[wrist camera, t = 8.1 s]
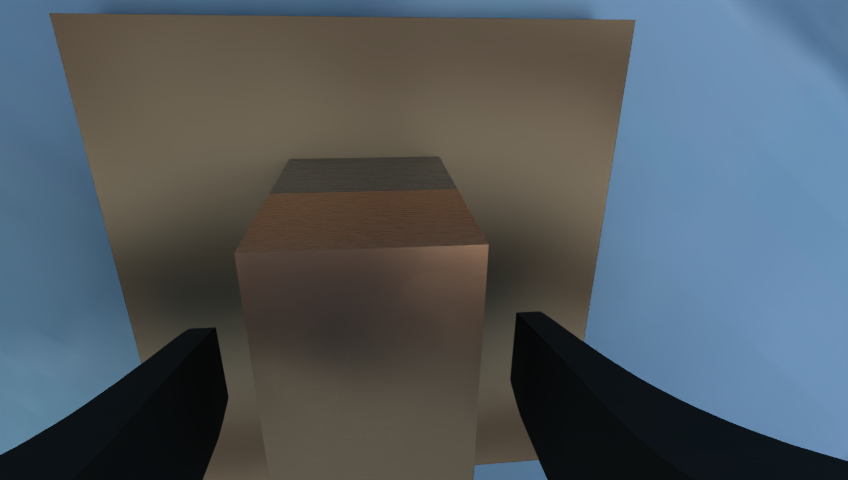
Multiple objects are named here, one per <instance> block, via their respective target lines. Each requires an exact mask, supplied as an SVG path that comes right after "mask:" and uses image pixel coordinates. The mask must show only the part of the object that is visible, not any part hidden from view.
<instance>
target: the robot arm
mask: <svg viewBox="0 0 848 480" xmlns="http://www.w3.org/2000/svg"><path fill="white" fill-rule="evenodd" d="M510 381H511V385H512V389H513V393H514V396H515V400H516V403H517V407H518V410H519V414H520V417H521V419H522V421H523V424H524V426H525V429H526V431H527V433H528V436H529V438H530V440H531V443H532V445H533V447H534V450H535V452H536V454H537V457H538V459H539V461H540V463H541V466H542V468H543V470H544V473H545V475H546V477H547V480H848V461H845V460H841V459H838V458H835V457H831V456H828V455H824V454H821V453H818V452H814V451H811V450H808V449H804V448H801V447H797V446H794V445H791V444H788V443H785V442H782V441H779V440H777V439H774V438H771V437H768V436H765V435H763V434H760V433H757V432H754V431H751V430H749V429H746V428H744V427H741V426H739V425H736V424H733V423H731V422H728V421H726V420H724V419H721V418H719V417H717V416H714V415H712V414H710V413H708V412H705V411H703V410H701V409H698V408H696V407H694V406H692V405H690V404H688V403H686V402H683V401H681V400H679V399H677V398H675V397H673V396H672V395H670V394H668V393H666V392H664V391H662V390H660V389H658V388H656V387H654V386H652V385H651V384H649V383H647V382H645V381H644V380H642V379H640V378H638V377H637V376H635V375H633V374H632V373H630V372H629V371H627V370H625V369H624V368H622V367H620V366H619V365H617V364H616V363H614V362H613V361H611V360H609V359H608V358H606V357H605V356H603V355H602V354H600V353H599V352H598V351H596V350H595V349H593V348H592V347H590V346H589V345H587V344H586V343H585V342H583V341H582V340H580V339H579V338H578V337H576V336H575V335H573V334H572V333H571V332H569V331H568V330H567V329H565V328H564V327H562V326H561V325H560V324H558V323H557V322H555V321H554V320H553V319H551V318H550V317H548V316H547V315H545V314H544V313H542V312H541V311H536V312H516V322H515V332H514V343H513V353H512V364H511V374H510ZM228 398H229V396H228V391H227V385H226V380H225V374H224V369H223V364H222V358H221V353H220V347H219V342H218V336H217V331H216V327H211V328H191V329H187V330H186V331H184V332H183V333H182V334H180V335H179V336H177V337H176V338H175V339H173V340H172V341H171V342H169V343H168V344H167V345H165V346H164V347H163V348H162V349H160V350H159V351H158V352H156V353H155V354H154V355H152V356H151V357H150V358H149V359H147V360H146V361H145V362H143V363H142V364H141V365H139V366H138V367H137V368H135V369H134V370H133V371H131V372H130V373H129V374H127V375H126V376H125V377H124V378H122V379H121V380H119V381H118V382H117V383H115V384H114V385H112V386H111V387H109V388H108V389H107V390H105V391H104V392H102V393H101V394H99V395H98V396H97V397H95V398H94V399H92V400H91V401H89V402H88V403H87V404H85V405H84V406H82V407H81V408H79V409H78V410H76V411H75V412H73V413H72V414H70V415H69V416H67V417H65V418H64V419H62V420H61V421H59V422H58V423H56V424H54V425H53V426H51V427H49V428H48V429H46V430H44V431H43V432H41V433H39V434H37V435H36V436H34V437H32V438H31V439H29V440H27V441H26V442H24V443H22V444H20V445H19V446H17V447H15V448H13V449H11V450H9V451H7V452H5V453H3V454H2V455H0V480H203V478H204V475H205V473H206V470H207V467H208V465H209V462H210V460H211V457H212V454H213V452H214V449H215V447H216V444H217V441H218V439H219V435H220V432H221V428H222V424H223V420H224V416H225V411H226V407H227V402H228Z"/></svg>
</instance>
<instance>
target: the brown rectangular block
mask: <svg viewBox="0 0 848 480" xmlns="http://www.w3.org/2000/svg"><path fill="white" fill-rule="evenodd" d="M488 248H489V244H488V242H487V240H486V239H485V237H484V235H483V233H482V232H481V230H480V228H479V226H478V224H477V223H476V221H475V219H474V217H473V216H472V214H471V212H470V210H469V208H468V207H467V205H466V203H465V201H464V200H463V198H462V196H461V194H460V192H459V191H458V189H457V187H456V185H455V184H454V182H453V180H452V178H451V176H450V175H449V173H448V171H447V169H446V168H445V166H444V164H443V162H442V160H441V159H440V157H439V156H433V157H374V158H314V159H289V161H288V162H287V164H286V166H285V167H284V169H283V171H282V173H281V174H280V176H279V178H278V179H277V181H276V183H275V185H274V186H273V188H272V190H271V191H270V193H269V195H268V197H267V198H266V200H265V202H264V203H263V205H262V207H261V209H260V210H259V212H258V214H257V215H256V217H255V219H254V220H253V222H252V224H251V226H250V227H249V229H248V231H247V232H246V234H245V236H244V238H243V239H242V241H241V243H240V244H239V246H238V248H237V250H236V251H235V253H234V255H235V261H236V268H237V274H238V281H239V287H240V293H241V300H242V306H243V313H244V319H245V325H246V332H247V338H248V345H249V351H250V357H251V364H252V370H253V377H254V383H255V389H256V396H257V402H258V409H259V415H260V421H261V428H262V434H263V441H264V447H265V453H266V460H267V466H268V473H269V479H270V480H473V476H474V461H475V446H476V430H477V415H478V400H479V385H480V370H481V354H482V339H483V324H484V309H485V293H486V278H487V263H488Z"/></svg>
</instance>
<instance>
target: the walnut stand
mask: <svg viewBox="0 0 848 480" xmlns="http://www.w3.org/2000/svg"><path fill="white" fill-rule="evenodd" d="M49 14H50V18H51V21H52V25H53V29H54V33H55V37H56V40H57V44H58V48H59V52H60V56H61V59H62V63H63V67H64V71H65V75H66V78H67V82H68V86H69V90H70V94H71V97H72V101H73V105H74V109H75V113H76V117H77V120H78V124H79V128H80V132H81V136H82V139H83V143H84V147H85V151H86V155H87V158H88V162H89V166H90V170H91V174H92V177H93V181H94V185H95V189H96V193H97V196H98V200H99V204H100V208H101V212H102V215H103V219H104V223H105V227H106V231H107V234H108V238H109V242H110V246H111V250H112V253H113V257H114V261H115V265H116V269H117V272H118V276H119V280H120V284H121V288H122V291H123V295H124V299H125V303H126V307H127V310H128V314H129V318H130V322H131V326H132V329H133V333H134V337H135V341H136V345H137V348H138V352H139V356H140V360H141V364H142V363H143V362H145V361H146V360H147V359H149V358H150V357H151V356H152V355H154V354H155V353H156V352H158V351H159V350H160V349H162V348H163V347H164V346H165V345H167V344H168V343H169V342H171V341H172V340H173V339H175V338H176V337H177V336H179V335H180V334H182V333H183V332H184V331H186V330H187V329H191V328H211V327H216V331H217V336H218V342H219V347H220V353H221V358H222V364H223V369H224V374H225V380H226V385H227V391H228V396H229V398H228V402H227V407H226V411H225V416H224V420H223V424H222V428H221V432H220V435H219V439H218V441H217V444H216V447H215V449H214V452H213V454H212V457H211V460H210V462H209V465H208V467H207V470H206V473H205V475H204V478H203V480H270V479H269V473H268V466H267V460H266V453H265V447H264V441H263V434H262V428H261V421H260V415H259V409H258V402H257V396H256V389H255V383H254V377H253V370H252V364H251V357H250V351H249V345H248V338H247V332H246V325H245V319H244V313H243V306H242V300H241V293H240V287H239V281H238V274H237V268H236V261H235V255H234V253H235V251H236V250H237V248H238V246H239V244H240V243H241V241H242V239H243V238H244V236H245V234H246V232H247V231H248V229H249V227H250V226H251V224H252V222H253V220H254V219H255V217H256V215H257V214H258V212H259V210H260V209H261V207H262V205H263V203H264V202H265V200H266V198H267V197H268V195H269V193H270V191H271V190H272V188H273V186H274V185H275V183H276V181H277V179H278V178H279V176H280V174H281V173H282V171H283V169H284V167H285V166H286V164H287V162H288V161H289V159H314V158H374V157H433V156H439V157H440V159H441V160H442V162H443V164H444V166H445V168H446V169H447V171H448V173H449V175H450V176H451V178H452V180H453V182H454V184H455V185H456V187H457V189H458V191H459V192H460V194H461V196H462V198H463V200H464V201H465V203H466V205H467V207H468V208H469V210H470V212H471V214H472V216H473V217H474V219H475V221H476V223H477V224H478V226H479V228H480V230H481V232H482V233H483V235H484V237H485V239H486V240H487V242H488V244H489V248H488V263H487V278H486V293H485V309H484V324H483V339H482V354H481V370H480V385H479V400H478V415H477V430H476V446H475V461H474V465H481V464H493V463H506V462H518V461H530V460H539V459H538V457H537V454H536V452H535V450H534V447H533V445H532V443H531V440H530V438H529V436H528V433H527V431H526V429H525V426H524V424H523V421H522V419H521V417H520V414H519V410H518V407H517V403H516V400H515V396H514V393H513V389H512V385H511V381H510V374H511V364H512V353H513V343H514V332H515V322H516V312H536V311H541V312H542V313H544V314H545V315H547V316H548V317H550V318H551V319H553V320H554V321H555V322H557V323H558V324H560V325H561V326H562V327H564V328H565V329H567V330H568V331H569V332H571V333H572V334H573V335H575V336H576V337H578V338H579V339H580V340H582V341H583V342H584V336H585V330H586V323H587V317H588V311H589V305H590V299H591V292H592V286H593V280H594V274H595V268H596V261H597V255H598V249H599V243H600V237H601V230H602V224H603V218H604V212H605V206H606V199H607V193H608V187H609V181H610V175H611V168H612V162H613V156H614V150H615V144H616V137H617V131H618V125H619V119H620V113H621V107H622V100H623V94H624V88H625V82H626V76H627V69H628V63H629V57H630V51H631V45H632V38H633V32H634V26H635V20H595V19H507V18H419V17H331V16H243V15H155V14H67V13H49Z"/></svg>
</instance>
